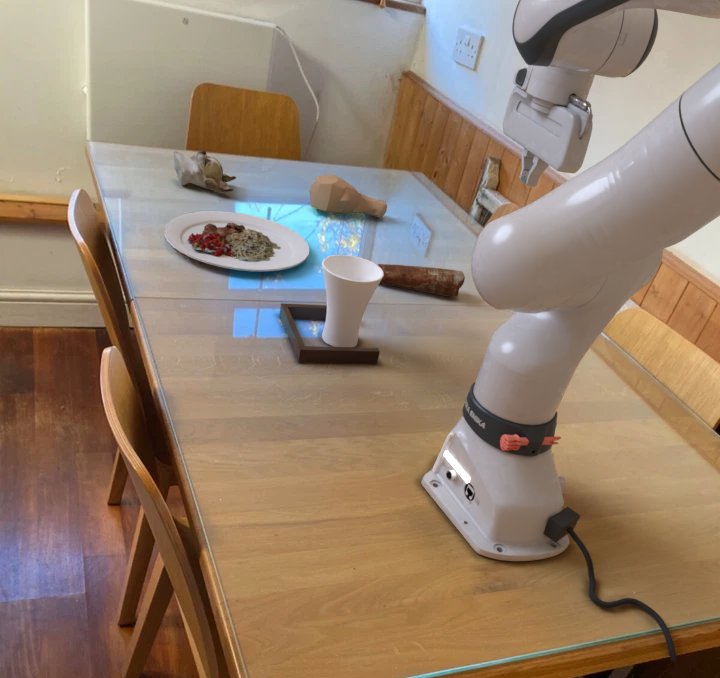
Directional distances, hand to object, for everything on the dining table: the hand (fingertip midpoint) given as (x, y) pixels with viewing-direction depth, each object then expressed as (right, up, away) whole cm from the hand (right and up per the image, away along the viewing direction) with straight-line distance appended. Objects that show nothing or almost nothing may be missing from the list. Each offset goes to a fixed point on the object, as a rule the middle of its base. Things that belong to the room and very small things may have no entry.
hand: (527, 183), depth 111 cm
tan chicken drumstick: (-30, +20, +66) cm, 75 cm away
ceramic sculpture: (-65, +25, +61) cm, 92 cm away
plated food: (-52, +2, +37) cm, 64 cm away
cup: (-30, -22, +14) cm, 40 cm away
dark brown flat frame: (-32, -22, +13) cm, 41 cm away
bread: (-15, -7, +37) cm, 41 cm away
